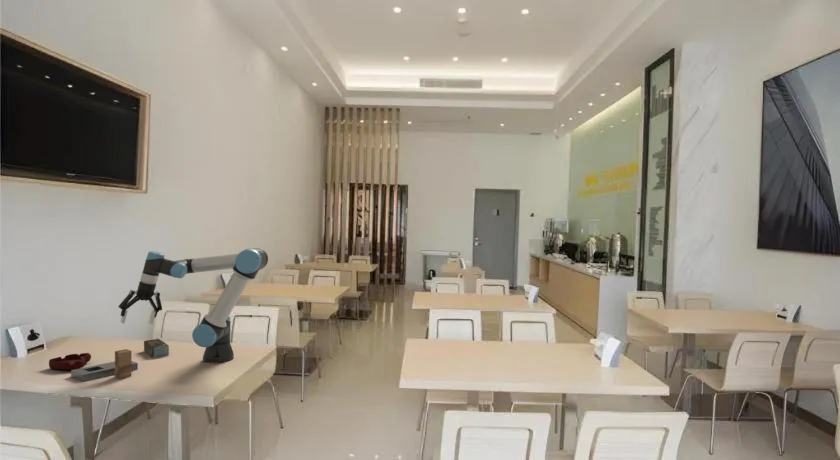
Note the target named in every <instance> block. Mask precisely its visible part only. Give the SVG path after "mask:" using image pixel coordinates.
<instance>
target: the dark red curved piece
mask: <svg viewBox="0 0 840 460" xmlns="http://www.w3.org/2000/svg"><path fill="white" fill-rule="evenodd" d="M91 359H92V354H91V353H89V352H84V353H82V352H81V353H80V354H78V353H72V354H71V353H70V354H67V355H65V356H64V357H63V358H62V356H59V357H55V358H54V357H53V358H50V359H49V360H48V367H49V369H51V370H57V369H59V370H63V371H71V370H75V369H80V368H84V367H85V366H86V364H87V363H88V362H90V361H91ZM59 370H58V371H59Z"/></svg>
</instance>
